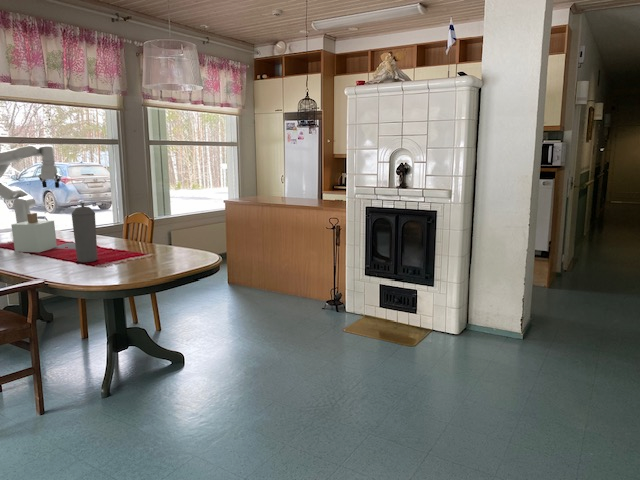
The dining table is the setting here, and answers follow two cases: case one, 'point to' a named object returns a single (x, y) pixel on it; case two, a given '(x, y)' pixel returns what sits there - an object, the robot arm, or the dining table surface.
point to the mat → (69, 245)
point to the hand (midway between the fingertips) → (51, 187)
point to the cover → (34, 235)
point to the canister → (85, 233)
